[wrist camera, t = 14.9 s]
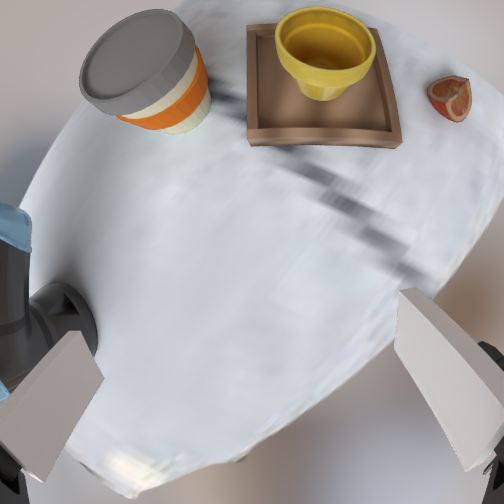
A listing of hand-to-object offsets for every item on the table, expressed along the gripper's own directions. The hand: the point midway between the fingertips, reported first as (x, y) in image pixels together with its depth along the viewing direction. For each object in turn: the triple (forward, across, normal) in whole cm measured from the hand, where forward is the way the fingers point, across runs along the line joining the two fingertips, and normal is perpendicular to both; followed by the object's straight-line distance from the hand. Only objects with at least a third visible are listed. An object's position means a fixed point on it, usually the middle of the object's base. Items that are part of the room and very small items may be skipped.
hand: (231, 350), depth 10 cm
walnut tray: (+28, +12, +17) cm, 35 cm away
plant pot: (+27, +12, +17) cm, 34 cm away
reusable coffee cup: (+30, -7, +17) cm, 35 cm away
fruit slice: (+26, +31, +14) cm, 42 cm away
